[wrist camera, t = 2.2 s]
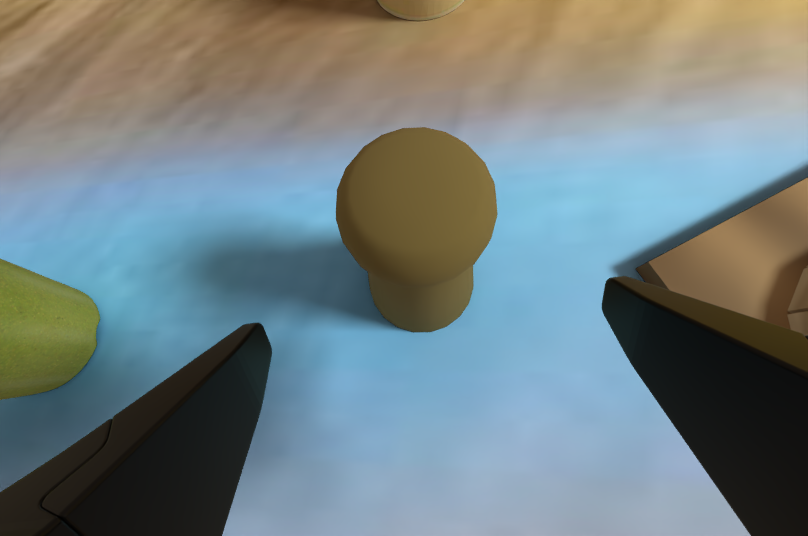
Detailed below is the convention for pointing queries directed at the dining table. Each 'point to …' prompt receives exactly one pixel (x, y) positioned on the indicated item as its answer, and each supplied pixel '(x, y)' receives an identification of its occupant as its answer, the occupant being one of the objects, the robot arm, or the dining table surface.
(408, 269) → the olive brown pestle
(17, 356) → the plant pot
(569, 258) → the dining table surface
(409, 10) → the white canister
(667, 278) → the ring board
